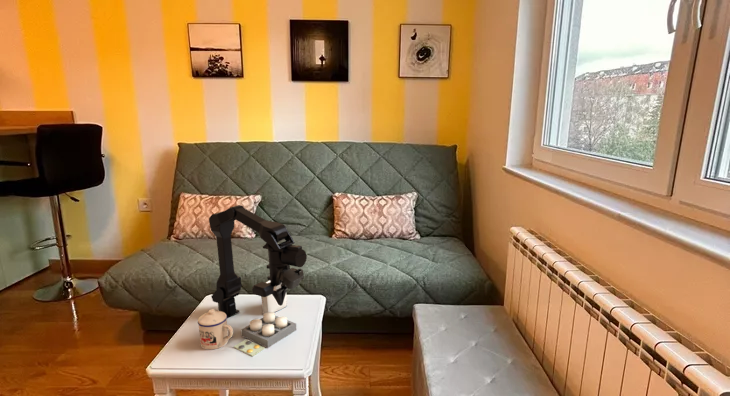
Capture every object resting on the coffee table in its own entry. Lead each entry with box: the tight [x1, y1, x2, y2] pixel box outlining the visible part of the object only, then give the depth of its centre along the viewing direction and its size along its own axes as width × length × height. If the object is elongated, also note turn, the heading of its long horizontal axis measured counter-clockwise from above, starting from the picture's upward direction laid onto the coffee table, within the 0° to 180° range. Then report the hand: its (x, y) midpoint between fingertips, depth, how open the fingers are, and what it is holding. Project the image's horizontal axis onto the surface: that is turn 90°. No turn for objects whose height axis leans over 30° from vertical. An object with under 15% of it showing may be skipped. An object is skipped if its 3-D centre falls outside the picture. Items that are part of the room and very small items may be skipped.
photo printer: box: [260, 280, 288, 315], centre depth 155 cm, size 10×4×12 cm, turn 141°
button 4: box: [275, 316, 288, 330], centre depth 139 cm, size 4×4×3 cm
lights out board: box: [233, 315, 297, 357], centre depth 137 cm, size 13×19×2 cm
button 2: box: [262, 324, 275, 338], centre depth 134 cm, size 4×4×3 cm
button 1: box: [249, 318, 262, 333], centre depth 138 cm, size 4×4×3 cm
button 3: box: [262, 312, 276, 324], centre depth 143 cm, size 4×4×3 cm
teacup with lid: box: [197, 308, 234, 350], centre depth 132 cm, size 12×9×12 cm
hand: (280, 305), depth 138 cm, fingers closed
